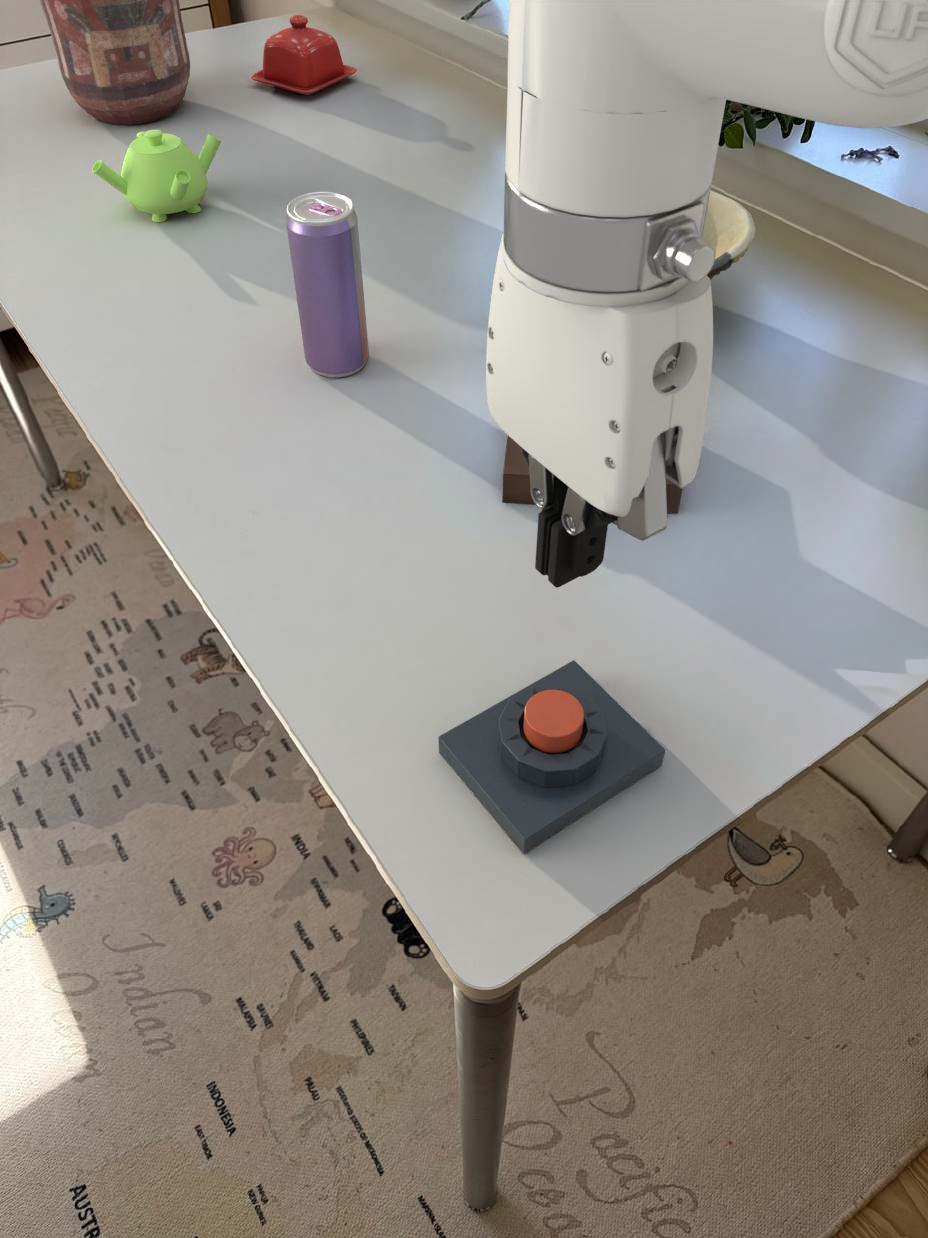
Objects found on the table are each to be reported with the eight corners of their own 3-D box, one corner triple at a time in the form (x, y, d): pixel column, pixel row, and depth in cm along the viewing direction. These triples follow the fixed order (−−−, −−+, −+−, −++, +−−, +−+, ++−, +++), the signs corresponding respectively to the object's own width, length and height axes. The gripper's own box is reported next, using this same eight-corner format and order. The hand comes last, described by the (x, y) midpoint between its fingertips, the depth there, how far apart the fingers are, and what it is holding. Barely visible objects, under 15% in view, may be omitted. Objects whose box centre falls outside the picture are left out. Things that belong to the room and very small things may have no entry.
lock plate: (673, 429, 87) (678, 399, 85) (677, 513, 80) (684, 482, 77) (512, 420, 88) (513, 390, 86) (502, 502, 81) (503, 471, 79)
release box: (572, 675, 69) (576, 641, 66) (662, 765, 64) (670, 732, 61) (438, 752, 64) (437, 719, 62) (523, 855, 59) (526, 823, 57)
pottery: (228, 104, 137) (202, -50, 124) (121, 145, 128) (81, -16, 115) (149, 73, 145) (117, -74, 132) (43, 110, 136) (-3, -45, 123)
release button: (557, 697, 63) (559, 680, 62) (594, 735, 61) (596, 718, 60) (511, 724, 62) (512, 706, 61) (547, 763, 60) (549, 746, 59)
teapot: (146, 181, 121) (129, 107, 115) (235, 190, 119) (222, 116, 113) (103, 224, 114) (82, 147, 107) (197, 234, 112) (181, 157, 106)
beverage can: (344, 387, 92) (326, 229, 81) (293, 367, 94) (269, 211, 83) (382, 356, 95) (370, 200, 84) (331, 338, 97) (313, 184, 86)
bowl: (550, 267, 106) (555, 177, 99) (719, 266, 106) (737, 175, 99) (562, 360, 94) (570, 265, 87) (754, 359, 95) (776, 263, 88)
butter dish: (301, 62, 148) (294, -4, 142) (362, 78, 143) (357, 11, 137) (247, 86, 141) (237, 19, 135) (309, 104, 137) (301, 35, 131)
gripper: (823, 272, 35) (726, 624, 49) (557, 132, 44) (537, 466, 57) (664, 340, 32) (608, 695, 46) (412, 176, 41) (427, 517, 54)
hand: (568, 567), depth 51 cm, fingers closed
